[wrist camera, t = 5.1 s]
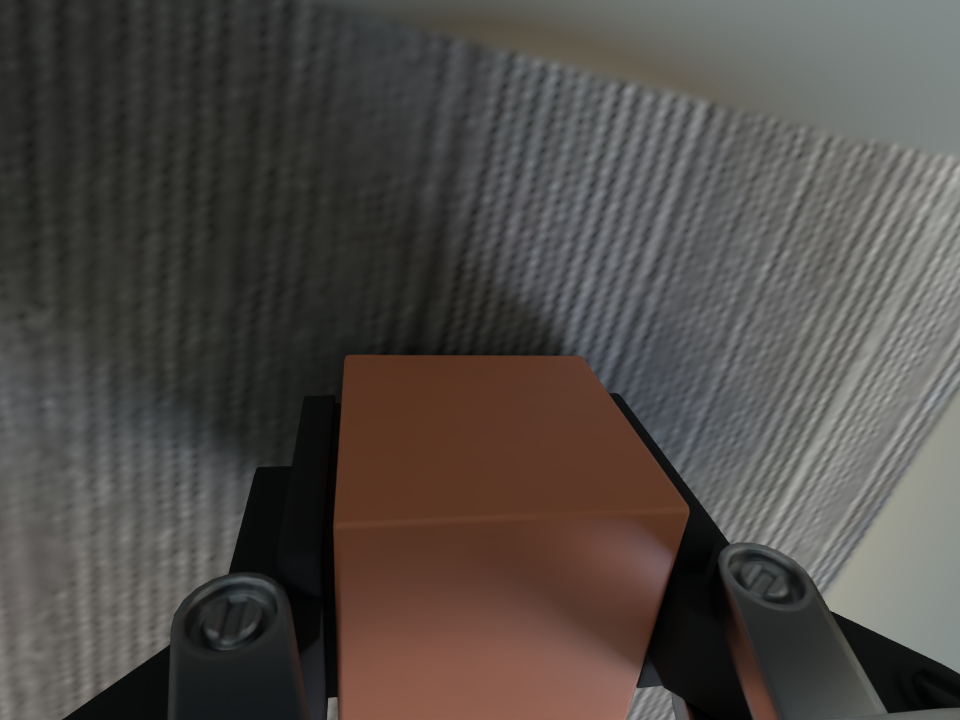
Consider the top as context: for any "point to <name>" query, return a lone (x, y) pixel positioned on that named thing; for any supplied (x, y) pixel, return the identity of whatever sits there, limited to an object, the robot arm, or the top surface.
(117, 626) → the top surface
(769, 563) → the robot arm
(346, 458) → the block
